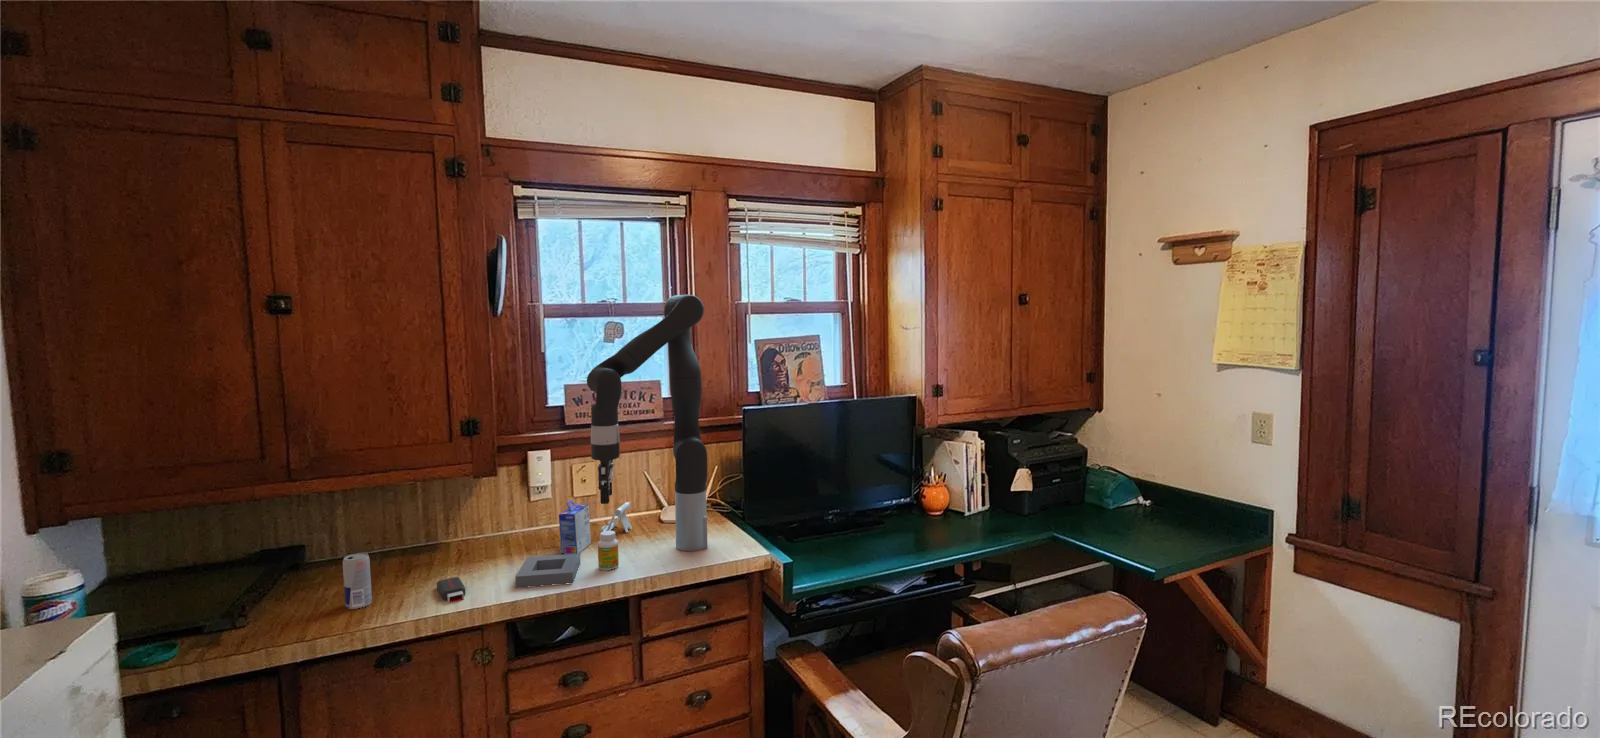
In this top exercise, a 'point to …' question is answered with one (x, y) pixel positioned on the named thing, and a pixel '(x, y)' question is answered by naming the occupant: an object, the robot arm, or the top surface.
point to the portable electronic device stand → (621, 514)
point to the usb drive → (451, 589)
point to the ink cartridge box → (574, 528)
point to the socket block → (548, 570)
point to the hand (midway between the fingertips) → (606, 499)
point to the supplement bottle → (608, 551)
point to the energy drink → (357, 580)
